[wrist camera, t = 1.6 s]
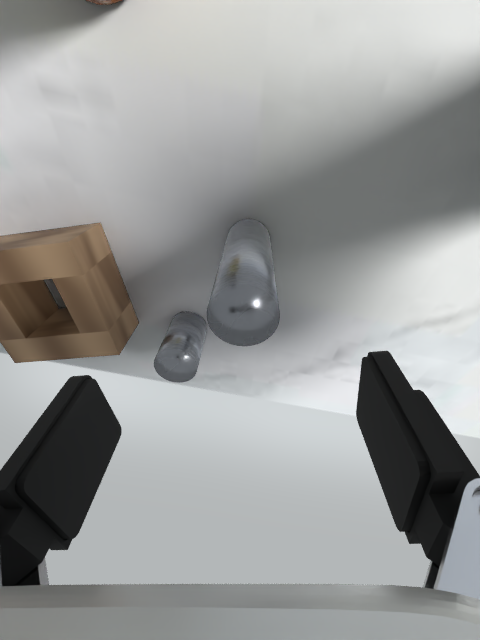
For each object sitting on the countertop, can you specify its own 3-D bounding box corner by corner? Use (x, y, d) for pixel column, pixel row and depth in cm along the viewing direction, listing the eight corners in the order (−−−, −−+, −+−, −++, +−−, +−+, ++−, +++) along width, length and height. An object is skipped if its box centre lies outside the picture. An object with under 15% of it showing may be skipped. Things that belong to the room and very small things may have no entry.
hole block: (100, 222, 24) (67, 241, 20) (138, 322, 30) (119, 354, 25) (-8, 237, 25) (-60, 258, 21) (48, 331, 31) (15, 363, 27)
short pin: (202, 309, 28) (191, 348, 23) (210, 339, 30) (200, 381, 25) (167, 313, 29) (148, 351, 24) (176, 342, 31) (160, 383, 26)
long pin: (268, 216, 23) (277, 280, 13) (271, 258, 25) (281, 343, 15) (223, 221, 24) (200, 288, 14) (230, 263, 26) (213, 348, 16)
